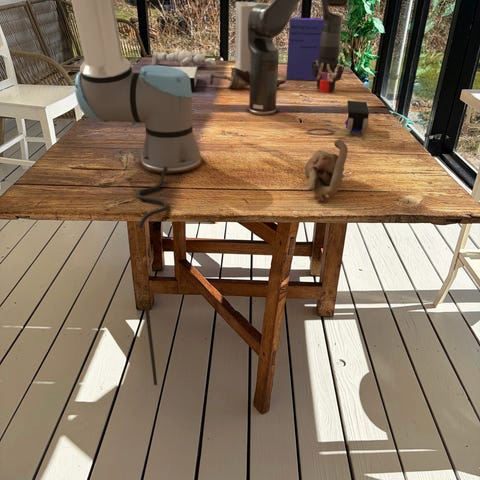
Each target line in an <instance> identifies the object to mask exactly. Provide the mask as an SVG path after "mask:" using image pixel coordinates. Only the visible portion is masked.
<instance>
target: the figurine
mask: <svg viewBox="0 0 480 480" xmlns="http://www.w3.org/2000/svg"><path fill="white" fill-rule="evenodd" d="M230 69H231V72H230V73H231V74H230V76H229V75H225V74H213V73H211V74H210V78H209V85H212V84H213V83H214V79H215V78H216V79H223V80H227V81H229V84H228V88H229V89H241V88H247V87H250V72H249V71H245V72H244V71H242V70H240V69H237V68H235V67H232V66H231V67H230ZM286 83H287V79H286V80H285V79H277V89H278V88H280V86H281V85H284V84H286Z"/></svg>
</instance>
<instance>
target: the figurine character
mask: <svg viewBox="0 0 480 480" xmlns="http://www.w3.org/2000/svg"><path fill="white" fill-rule="evenodd" d="M346 104H347V114H346V121H345V122H344V124H345V128H346V130H347V131H349V135H350V136H353V133H358V135H359V136H362V135H363V131H368V128H369V121H370V120H369V115H370V111H369V108H368V103H367V101H357V100H347V102H346Z"/></svg>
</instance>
